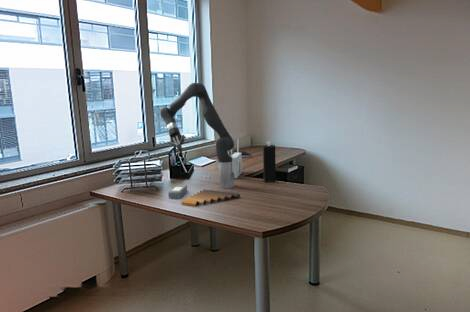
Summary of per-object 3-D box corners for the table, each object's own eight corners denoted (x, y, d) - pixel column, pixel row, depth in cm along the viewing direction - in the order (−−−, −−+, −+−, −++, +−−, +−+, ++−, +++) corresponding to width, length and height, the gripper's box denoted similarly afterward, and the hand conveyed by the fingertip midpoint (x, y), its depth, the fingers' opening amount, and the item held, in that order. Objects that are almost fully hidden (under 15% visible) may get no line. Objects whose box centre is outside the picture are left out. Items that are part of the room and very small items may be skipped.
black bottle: (263, 179, 254) (262, 140, 249) (274, 179, 255) (273, 140, 249) (264, 182, 247) (263, 142, 242) (276, 181, 247) (275, 141, 242)
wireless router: (252, 158, 333) (252, 137, 329) (228, 160, 328) (227, 138, 324) (243, 152, 365) (243, 132, 362) (221, 154, 360) (220, 134, 357)
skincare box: (237, 178, 259) (236, 157, 256) (229, 178, 260) (228, 157, 258) (242, 172, 280) (241, 152, 277) (235, 172, 281) (234, 152, 278)
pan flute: (240, 198, 215) (205, 193, 227) (240, 192, 215) (205, 188, 227) (218, 210, 194) (181, 205, 206) (218, 204, 193) (181, 199, 205)
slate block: (176, 184, 234) (168, 191, 218) (186, 184, 233) (179, 192, 217) (176, 191, 235) (168, 198, 219) (187, 191, 234) (180, 198, 218)
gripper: (162, 132, 248) (169, 152, 240) (179, 123, 247) (186, 143, 238) (168, 137, 255) (174, 156, 247) (184, 128, 253) (191, 147, 245)
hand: (180, 150), depth 242 cm, fingers closed
